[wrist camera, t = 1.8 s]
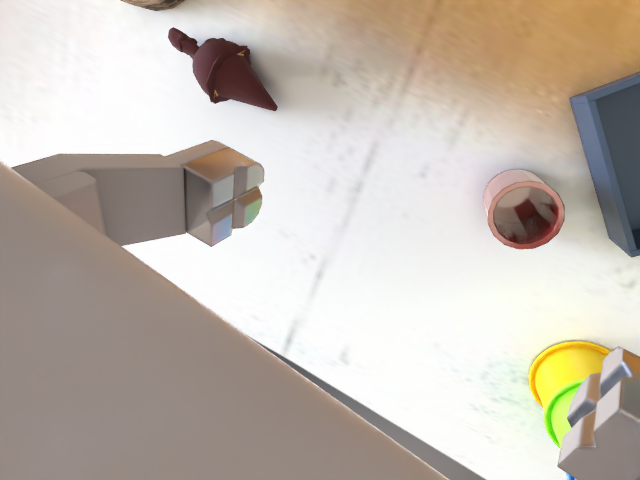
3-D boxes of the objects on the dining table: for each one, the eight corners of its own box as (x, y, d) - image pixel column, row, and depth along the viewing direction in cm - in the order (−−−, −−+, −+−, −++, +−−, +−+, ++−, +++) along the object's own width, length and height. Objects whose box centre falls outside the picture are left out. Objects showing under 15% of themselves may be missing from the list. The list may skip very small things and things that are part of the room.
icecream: (285, 69, 43) (180, -5, 46) (245, 129, 45) (144, 54, 47) (304, 90, 50) (211, 25, 53) (268, 142, 51) (179, 76, 54)
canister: (482, 172, 46) (486, 185, 38) (545, 165, 44) (564, 177, 36) (484, 227, 48) (489, 250, 40) (546, 223, 46) (564, 247, 38)
